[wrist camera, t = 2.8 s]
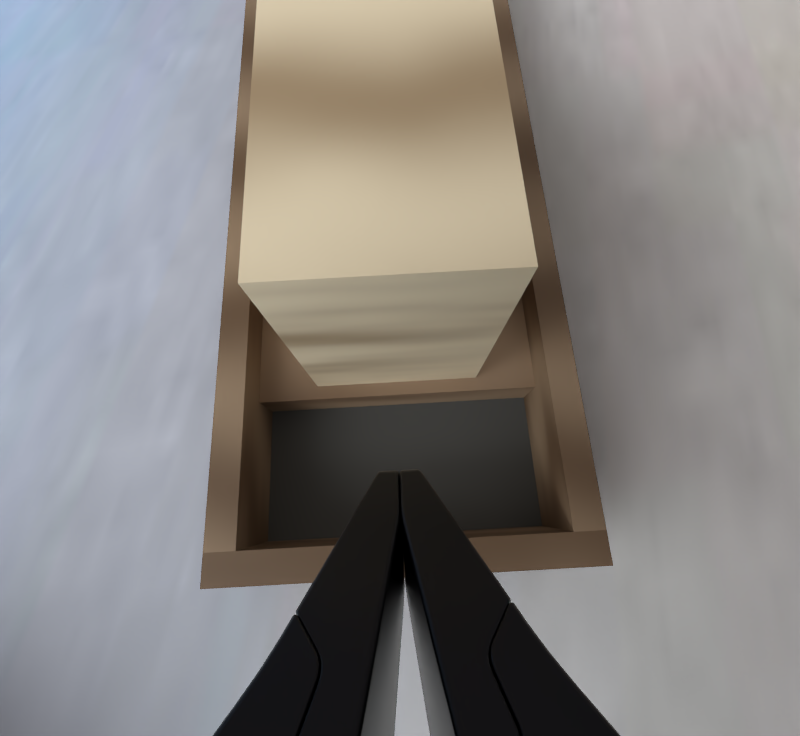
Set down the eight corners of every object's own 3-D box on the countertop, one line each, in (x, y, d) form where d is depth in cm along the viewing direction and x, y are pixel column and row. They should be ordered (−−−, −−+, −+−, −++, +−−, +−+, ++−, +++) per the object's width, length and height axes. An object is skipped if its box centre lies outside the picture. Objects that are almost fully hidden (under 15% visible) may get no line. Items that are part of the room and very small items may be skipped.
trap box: (570, 552, 16) (613, 565, 13) (242, 570, 16) (199, 589, 13) (479, -11, 25) (491, -88, 22) (272, 0, 25) (251, -75, 22)
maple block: (475, 377, 16) (538, 266, 8) (317, 386, 16) (237, 283, 8) (454, 182, 19) (486, -35, 11) (318, 190, 19) (258, -23, 11)
